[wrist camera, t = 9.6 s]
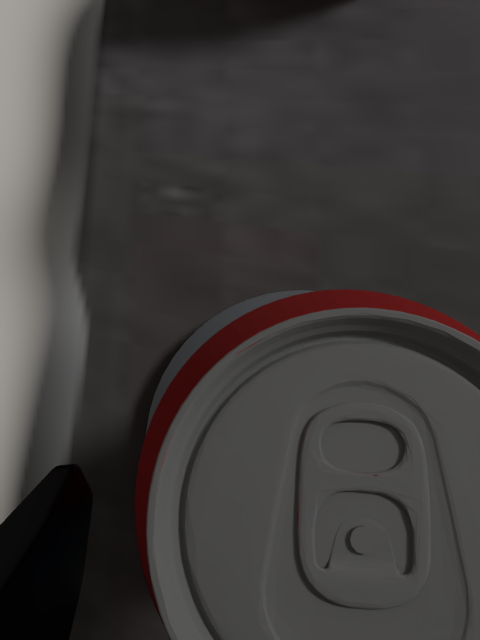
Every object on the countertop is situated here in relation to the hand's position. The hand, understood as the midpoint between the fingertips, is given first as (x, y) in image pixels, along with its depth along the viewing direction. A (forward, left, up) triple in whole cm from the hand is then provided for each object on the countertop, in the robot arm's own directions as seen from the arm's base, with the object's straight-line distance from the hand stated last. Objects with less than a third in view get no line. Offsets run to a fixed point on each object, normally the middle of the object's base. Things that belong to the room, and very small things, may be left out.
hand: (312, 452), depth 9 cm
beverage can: (-1, 0, -9) cm, 9 cm away
